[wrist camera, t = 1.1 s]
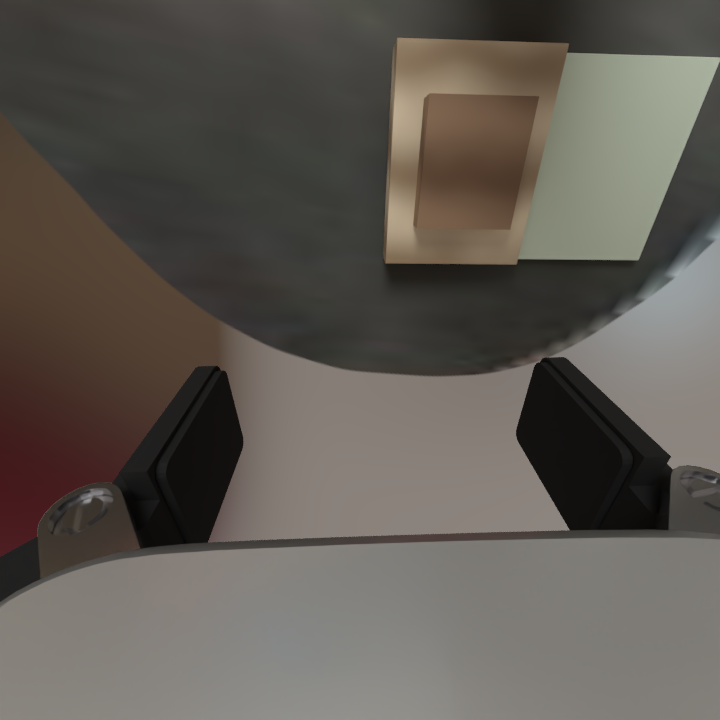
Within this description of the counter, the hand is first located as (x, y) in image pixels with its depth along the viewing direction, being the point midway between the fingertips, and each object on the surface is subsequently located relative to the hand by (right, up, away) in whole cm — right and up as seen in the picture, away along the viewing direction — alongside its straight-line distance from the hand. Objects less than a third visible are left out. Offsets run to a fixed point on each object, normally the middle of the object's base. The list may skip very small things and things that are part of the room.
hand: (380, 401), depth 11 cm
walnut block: (+7, +15, +15) cm, 22 cm away
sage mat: (+19, +17, +17) cm, 30 cm away
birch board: (+7, +17, +17) cm, 25 cm away
